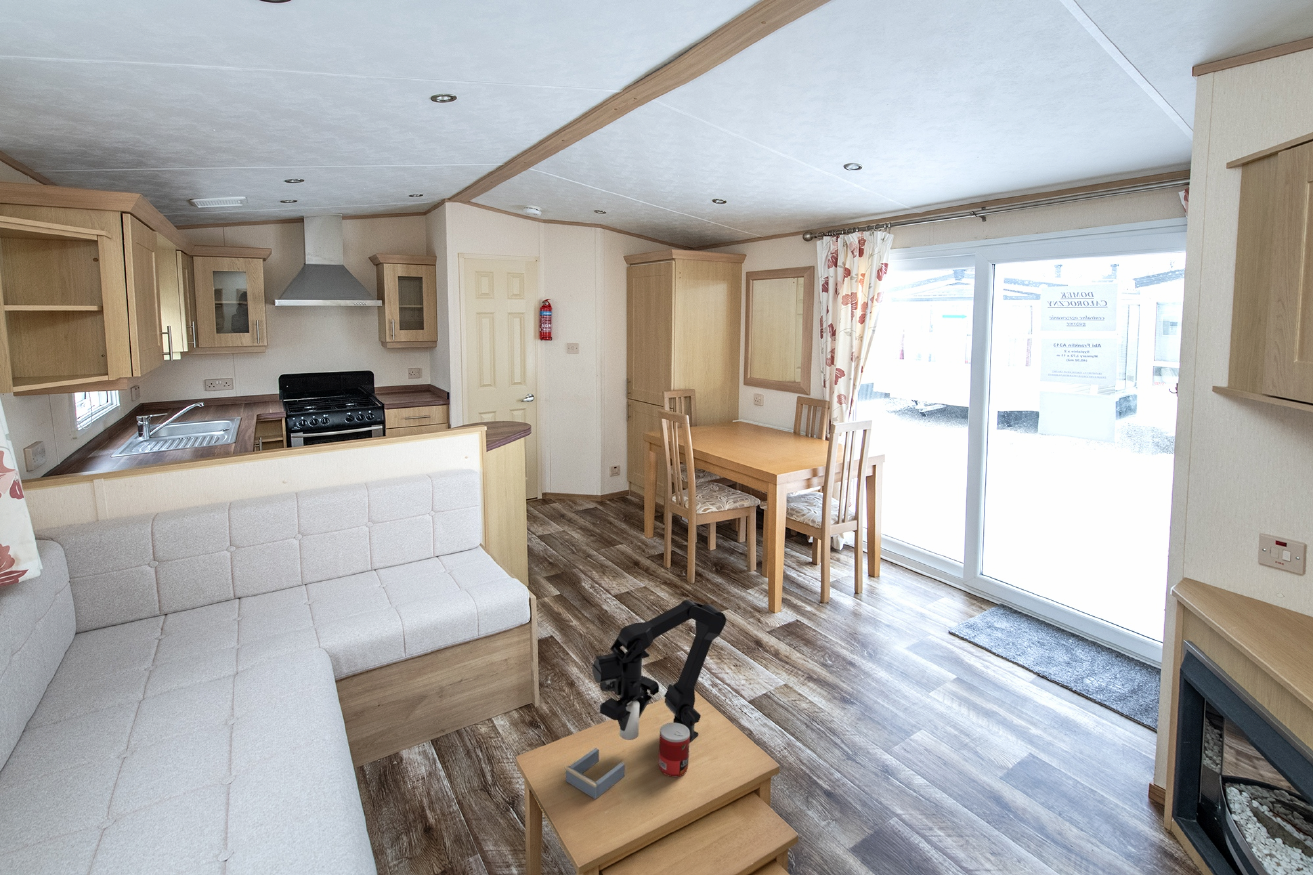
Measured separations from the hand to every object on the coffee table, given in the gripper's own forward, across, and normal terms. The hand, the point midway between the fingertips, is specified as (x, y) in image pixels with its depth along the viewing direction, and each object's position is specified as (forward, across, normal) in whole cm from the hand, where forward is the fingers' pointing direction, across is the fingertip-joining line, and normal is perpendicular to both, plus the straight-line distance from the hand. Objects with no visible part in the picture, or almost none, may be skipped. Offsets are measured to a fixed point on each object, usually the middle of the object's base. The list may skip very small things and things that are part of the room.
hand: (629, 725), depth 185 cm
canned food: (+9, -3, +13) cm, 16 cm away
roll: (+3, 0, 0) cm, 3 cm away
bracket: (+8, +13, 0) cm, 15 cm away
